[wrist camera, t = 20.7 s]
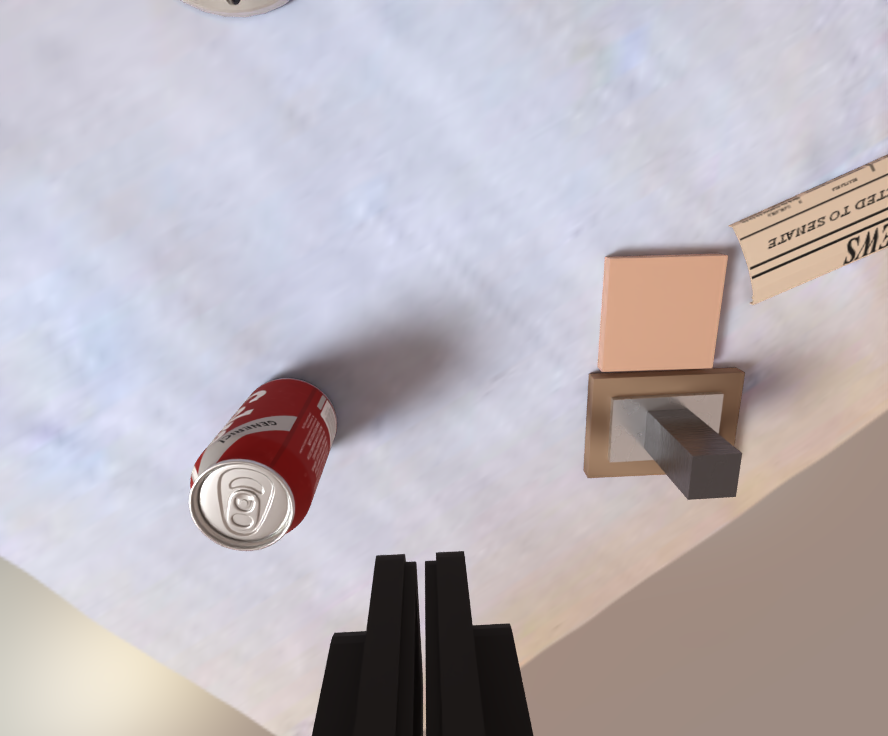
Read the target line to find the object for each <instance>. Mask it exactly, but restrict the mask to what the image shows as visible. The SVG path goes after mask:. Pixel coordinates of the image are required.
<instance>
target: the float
mask: <svg viewBox="0 0 888 736" xmlns="http://www.w3.org/2000/svg"><path fill="white" fill-rule="evenodd" d="M723 396H724V394H723V393H722V392H703V393H684V394H666V395H648V396H630V397H612V398H611V410H610V428H609V446H608V460H609V462H627V461H644V460H654V461H655V462H656V463H657V464H658V465H659V466H660V468H661V469H662V470H663V471H664V472H665V473H666V475H667V476H668V477H669V478H670V479H671V480H672V482H673V483H674V484H675V485H676V486H677V487H678V489H679V490H680V491H681V492H682V493H683V494H684V496H685V497H686V498H687V499H688V500H690V499H707V498H724V497H736V492H737V485H738V478H739V471H740V464H741V457H742V453H741V452H740V451H739V450H738V449H736V448H735V447H734V446H733V445H731V444H730V443H729V442H728V441H727V440H725V439H724V438H723V437H722V436H721V435H719V428H720V420H721V412H722V404H723Z"/></svg>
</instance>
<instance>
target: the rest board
mask: <svg viewBox="0 0 888 736" xmlns="http://www.w3.org/2000/svg"><path fill="white" fill-rule="evenodd" d="M744 376H745V372H743V371H741V370H739V369H738V368H714V369H690V370H666V371H642V372H618V373H594V374H589V381H588V399H587V417H586V436H585V454H584V472H585V474H586V475H587V477H588V478H600V477H621V476H643V475H664V474H666V473H665V472H664V471H663V470H662V469H661V468H660V466H659V465H658V464H657V463H656V462H655V461H654V460H644V461H627V462H609V460H608V446H609V428H610V410H611V398H612V397H630V396H648V395H666V394H684V393H703V392H722V393H723V394H724V396H723V404H722V412H721V420H720V428H719V435H721V436H722V437H723V438H724V439H725V440H727V441H728V442H729V443H730V444H731V445H733V446H734V443H735V436H736V429H737V423H738V416H739V409H740V403H741V396H742V389H743V383H744Z"/></svg>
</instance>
